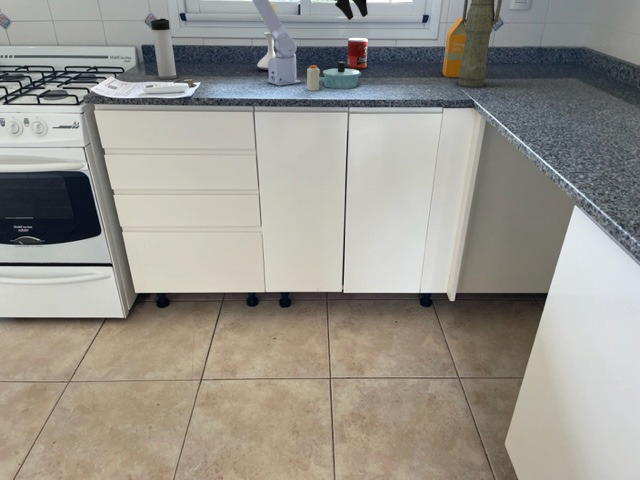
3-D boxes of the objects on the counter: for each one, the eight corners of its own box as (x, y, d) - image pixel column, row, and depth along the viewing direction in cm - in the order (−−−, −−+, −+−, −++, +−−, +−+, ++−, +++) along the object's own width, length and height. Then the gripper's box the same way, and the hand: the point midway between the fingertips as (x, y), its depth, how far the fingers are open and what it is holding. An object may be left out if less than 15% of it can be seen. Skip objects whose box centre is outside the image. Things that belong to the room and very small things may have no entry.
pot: (370, 84, 171) (370, 73, 169) (331, 91, 163) (332, 78, 161) (348, 79, 180) (349, 68, 178) (311, 85, 171) (311, 73, 169)
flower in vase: (253, 68, 199) (249, 0, 187) (279, 66, 203) (277, -1, 191) (264, 73, 189) (260, 2, 177) (291, 71, 193) (289, 1, 181)
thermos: (485, 89, 166) (504, -29, 149) (450, 85, 170) (465, -29, 153) (490, 84, 173) (509, -29, 156) (456, 81, 177) (471, -29, 160)
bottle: (311, 91, 162) (311, 67, 159) (305, 89, 165) (304, 65, 161) (321, 89, 164) (321, 66, 161) (314, 87, 167) (314, 64, 164)
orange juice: (462, 72, 191) (469, 17, 182) (465, 77, 184) (473, 19, 174) (441, 72, 192) (448, 16, 182) (444, 76, 184) (451, 19, 175)
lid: (366, 75, 168) (367, 62, 166) (338, 80, 162) (338, 66, 160) (343, 70, 177) (344, 57, 175) (315, 74, 170) (315, 61, 168)
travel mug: (179, 76, 184) (171, 18, 174) (173, 79, 178) (164, 20, 169) (163, 75, 185) (154, 18, 175) (156, 79, 179) (147, 19, 169)
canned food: (359, 70, 196) (360, 40, 191) (343, 67, 201) (344, 39, 195) (369, 67, 202) (371, 38, 196) (353, 65, 206) (354, 37, 201)
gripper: (364, -33, 159) (379, 8, 166) (336, -24, 170) (352, 14, 177) (350, -23, 156) (366, 18, 164) (323, -14, 168) (339, 24, 175)
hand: (358, 17), depth 170 cm, fingers open, 7 cm apart
